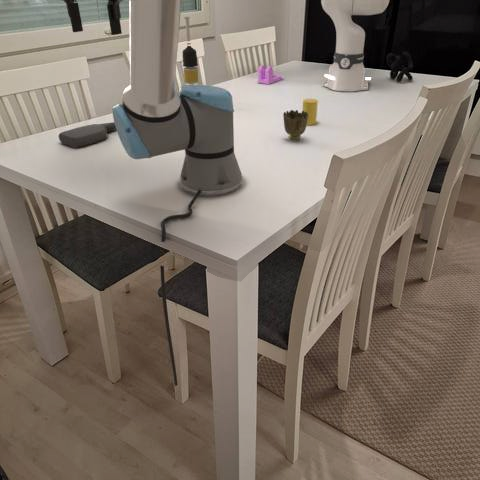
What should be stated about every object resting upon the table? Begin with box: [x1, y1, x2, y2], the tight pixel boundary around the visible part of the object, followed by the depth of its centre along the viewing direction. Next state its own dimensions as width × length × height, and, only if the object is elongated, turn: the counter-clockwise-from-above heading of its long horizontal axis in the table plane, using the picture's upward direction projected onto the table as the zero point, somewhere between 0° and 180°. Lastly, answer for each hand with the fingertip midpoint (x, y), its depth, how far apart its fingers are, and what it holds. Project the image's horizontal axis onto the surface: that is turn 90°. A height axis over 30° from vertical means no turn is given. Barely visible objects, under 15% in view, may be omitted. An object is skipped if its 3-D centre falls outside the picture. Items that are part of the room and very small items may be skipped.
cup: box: [282, 109, 308, 142], centre depth 134 cm, size 8×7×8 cm
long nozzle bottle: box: [181, 16, 200, 85], centre depth 166 cm, size 6×6×30 cm
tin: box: [302, 98, 319, 126], centre depth 148 cm, size 5×5×8 cm
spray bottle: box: [58, 121, 117, 148], centre depth 142 cm, size 3×11×24 cm
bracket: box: [257, 65, 283, 85], centre depth 202 cm, size 13×6×7 cm, turn 143°
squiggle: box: [385, 51, 414, 83], centre depth 198 cm, size 11×10×15 cm
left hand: (96, 33), depth 111 cm, fingers open, 13 cm apart
